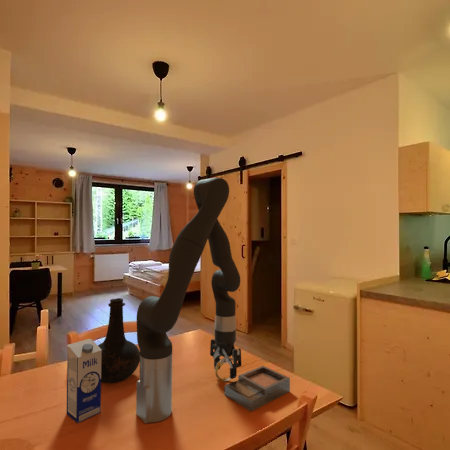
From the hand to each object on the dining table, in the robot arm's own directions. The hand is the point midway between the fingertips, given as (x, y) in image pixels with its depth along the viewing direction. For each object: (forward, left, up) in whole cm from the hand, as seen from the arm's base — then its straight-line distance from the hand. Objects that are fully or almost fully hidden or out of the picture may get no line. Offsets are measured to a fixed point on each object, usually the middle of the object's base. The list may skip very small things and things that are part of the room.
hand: (224, 373), depth 111 cm
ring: (0, 0, -3) cm, 3 cm away
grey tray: (+3, -13, -3) cm, 14 cm away
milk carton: (-44, +11, -3) cm, 45 cm away
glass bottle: (-29, +27, -3) cm, 40 cm away
